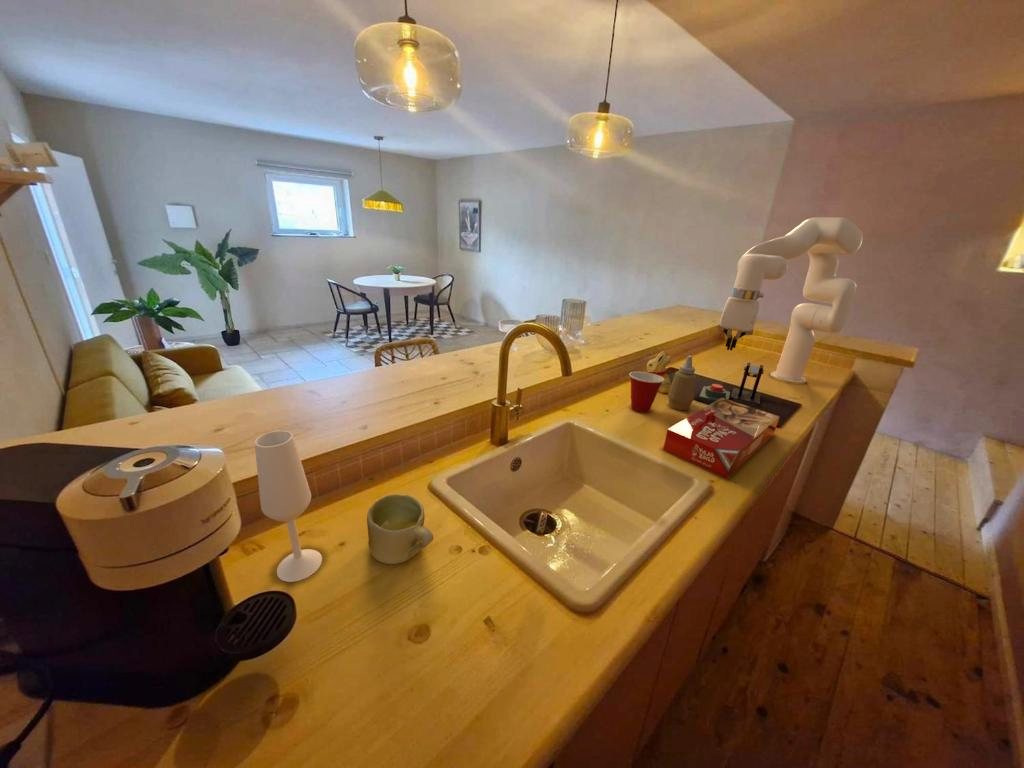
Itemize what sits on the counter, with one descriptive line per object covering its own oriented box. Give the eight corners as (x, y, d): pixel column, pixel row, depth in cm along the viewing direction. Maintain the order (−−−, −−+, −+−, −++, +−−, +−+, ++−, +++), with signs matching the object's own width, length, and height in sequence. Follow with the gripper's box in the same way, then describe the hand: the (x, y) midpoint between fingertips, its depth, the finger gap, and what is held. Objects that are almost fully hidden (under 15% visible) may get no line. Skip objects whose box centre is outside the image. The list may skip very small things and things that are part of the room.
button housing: (702, 391, 146) (704, 381, 145) (729, 397, 142) (731, 387, 140) (697, 401, 137) (700, 391, 135) (726, 408, 132) (729, 398, 131)
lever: (742, 376, 148) (744, 370, 148) (757, 379, 146) (759, 373, 146) (745, 371, 137) (746, 364, 137) (761, 374, 135) (763, 367, 135)
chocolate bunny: (647, 382, 151) (654, 345, 146) (672, 392, 143) (681, 353, 138) (636, 386, 147) (643, 348, 142) (662, 396, 139) (671, 356, 134)
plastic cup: (659, 406, 131) (666, 373, 126) (655, 419, 122) (663, 384, 117) (626, 399, 135) (632, 367, 130) (620, 411, 126) (626, 377, 121)
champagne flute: (315, 543, 69) (293, 422, 60) (327, 567, 64) (306, 441, 55) (272, 562, 65) (241, 435, 56) (282, 589, 60) (251, 456, 51)
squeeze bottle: (693, 413, 127) (706, 361, 120) (667, 410, 129) (679, 358, 122) (688, 403, 135) (700, 354, 128) (663, 400, 136) (674, 351, 129)
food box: (716, 415, 127) (721, 397, 125) (773, 435, 116) (779, 416, 113) (663, 449, 105) (667, 429, 103) (726, 478, 94) (733, 456, 91)
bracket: (732, 390, 148) (741, 358, 143) (759, 396, 144) (770, 364, 139) (730, 400, 139) (739, 366, 135) (758, 407, 135) (770, 372, 130)
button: (711, 387, 140) (712, 383, 139) (722, 390, 138) (723, 385, 138) (710, 390, 137) (711, 386, 137) (721, 393, 136) (722, 388, 135)
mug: (345, 540, 67) (363, 493, 65) (395, 525, 75) (412, 483, 73) (381, 594, 60) (402, 545, 58) (431, 572, 69) (452, 528, 66)
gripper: (771, 297, 125) (754, 351, 132) (720, 290, 133) (707, 342, 139) (771, 299, 119) (754, 356, 126) (718, 293, 127) (704, 347, 133)
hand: (729, 349), depth 133 cm, fingers closed
